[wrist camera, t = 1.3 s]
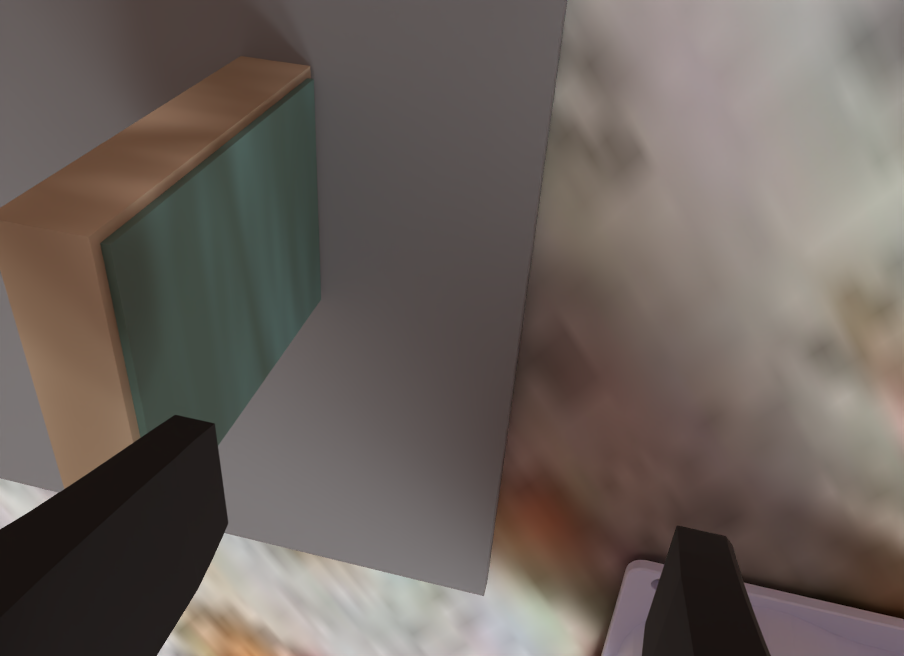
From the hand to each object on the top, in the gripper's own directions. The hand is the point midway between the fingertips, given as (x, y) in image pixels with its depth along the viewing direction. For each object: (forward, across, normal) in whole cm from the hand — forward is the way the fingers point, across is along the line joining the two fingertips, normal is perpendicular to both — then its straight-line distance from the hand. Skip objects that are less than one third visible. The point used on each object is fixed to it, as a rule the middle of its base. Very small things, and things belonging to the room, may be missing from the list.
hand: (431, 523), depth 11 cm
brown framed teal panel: (+9, +6, 0) cm, 11 cm away
